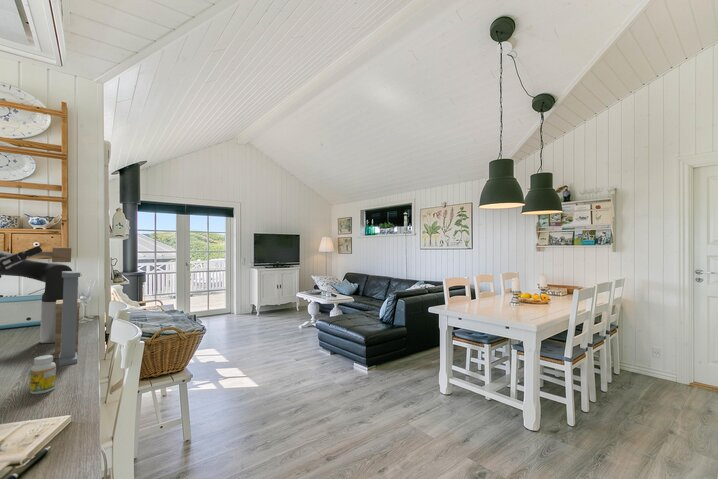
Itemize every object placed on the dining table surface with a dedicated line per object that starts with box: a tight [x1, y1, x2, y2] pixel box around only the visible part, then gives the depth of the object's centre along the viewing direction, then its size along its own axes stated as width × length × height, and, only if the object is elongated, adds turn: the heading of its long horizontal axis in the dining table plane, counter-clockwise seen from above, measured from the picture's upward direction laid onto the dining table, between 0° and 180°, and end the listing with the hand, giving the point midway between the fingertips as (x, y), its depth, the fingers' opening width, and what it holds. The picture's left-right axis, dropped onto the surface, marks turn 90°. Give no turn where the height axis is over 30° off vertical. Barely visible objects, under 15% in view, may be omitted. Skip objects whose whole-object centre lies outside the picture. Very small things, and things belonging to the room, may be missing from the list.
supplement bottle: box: [29, 354, 57, 395], centre depth 99 cm, size 5×5×10 cm
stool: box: [53, 298, 81, 359], centre depth 132 cm, size 10×7×20 cm
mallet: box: [20, 246, 72, 263], centre depth 120 cm, size 8×13×5 cm, turn 130°
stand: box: [57, 270, 81, 367], centre depth 124 cm, size 10×5×32 cm, turn 40°
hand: (40, 248), depth 119 cm, fingers closed on mallet
